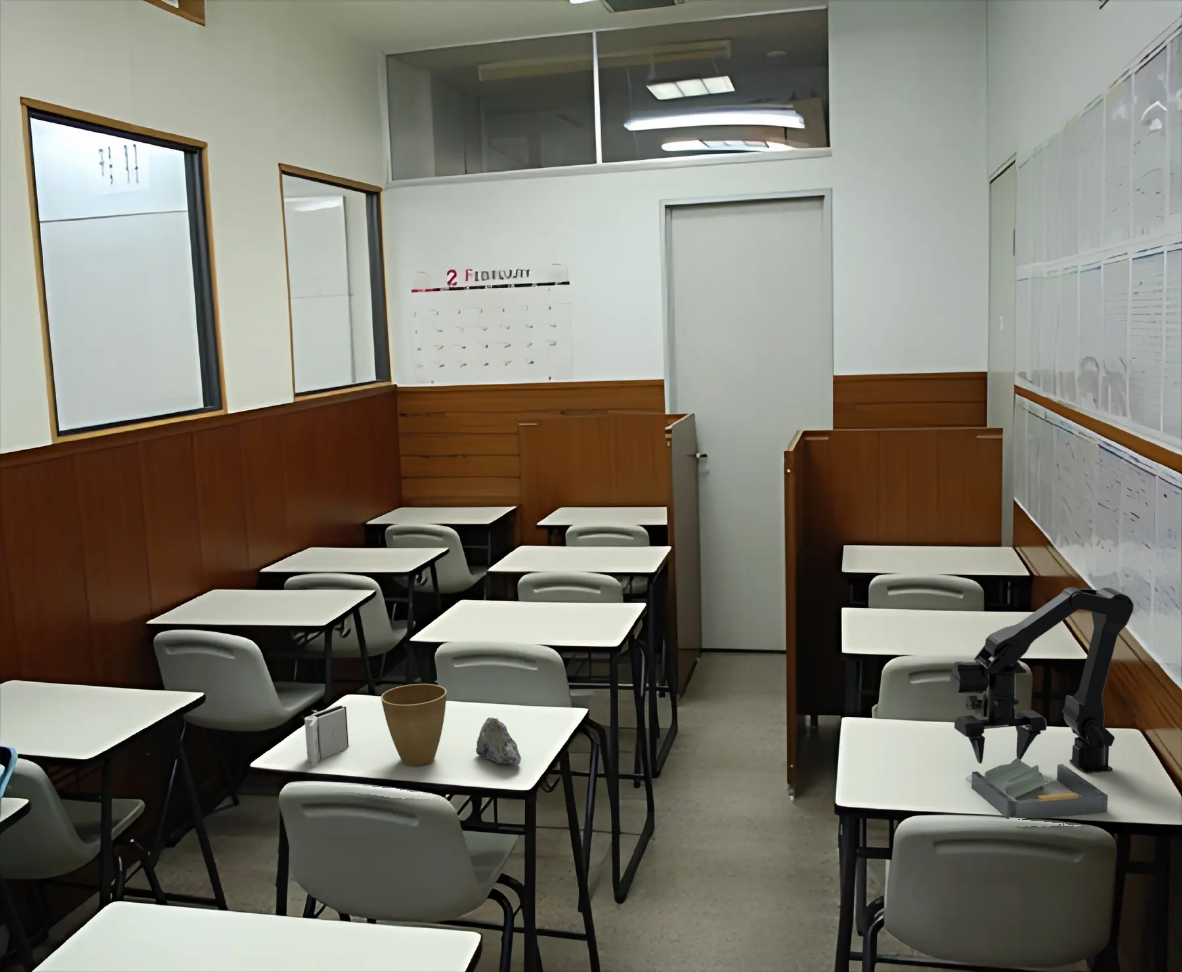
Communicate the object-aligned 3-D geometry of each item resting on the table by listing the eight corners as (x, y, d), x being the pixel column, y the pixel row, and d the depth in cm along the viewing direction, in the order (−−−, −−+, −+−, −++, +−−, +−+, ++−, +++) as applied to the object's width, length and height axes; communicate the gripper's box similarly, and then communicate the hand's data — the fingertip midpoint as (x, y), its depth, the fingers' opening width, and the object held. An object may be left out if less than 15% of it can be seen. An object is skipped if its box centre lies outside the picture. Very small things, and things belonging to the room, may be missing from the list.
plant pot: (448, 745, 263) (445, 681, 260) (450, 769, 248) (447, 701, 246) (385, 750, 260) (381, 685, 258) (383, 775, 246) (379, 706, 244)
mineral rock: (520, 772, 246) (519, 729, 244) (472, 774, 246) (470, 731, 244) (522, 750, 259) (521, 709, 257) (477, 752, 258) (475, 711, 257)
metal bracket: (1016, 748, 238) (1060, 774, 223) (1022, 771, 239) (1066, 800, 224) (958, 773, 235) (998, 801, 221) (964, 797, 236) (1005, 827, 222)
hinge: (337, 766, 252) (334, 724, 250) (301, 767, 252) (299, 726, 250) (349, 745, 265) (347, 705, 263) (315, 746, 265) (313, 706, 263)
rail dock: (1062, 779, 234) (1062, 761, 233) (1107, 812, 218) (1108, 792, 218) (971, 787, 231) (971, 769, 231) (1010, 821, 215) (1011, 801, 215)
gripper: (1021, 677, 247) (1019, 744, 249) (943, 683, 244) (941, 751, 246) (1049, 693, 236) (1046, 762, 238) (967, 700, 233) (966, 770, 235)
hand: (999, 761), depth 240 cm, fingers open, 9 cm apart
